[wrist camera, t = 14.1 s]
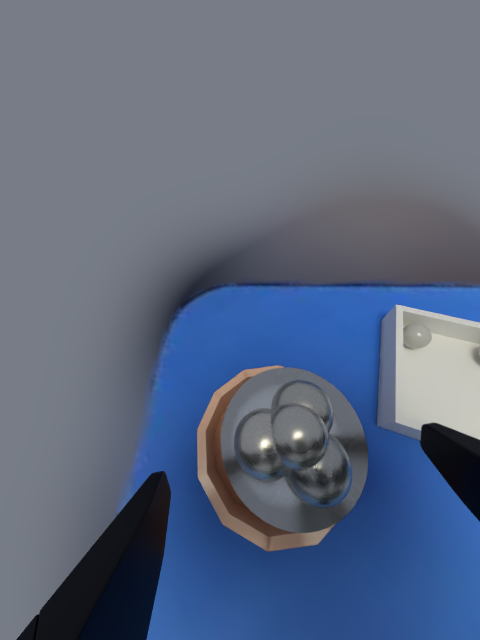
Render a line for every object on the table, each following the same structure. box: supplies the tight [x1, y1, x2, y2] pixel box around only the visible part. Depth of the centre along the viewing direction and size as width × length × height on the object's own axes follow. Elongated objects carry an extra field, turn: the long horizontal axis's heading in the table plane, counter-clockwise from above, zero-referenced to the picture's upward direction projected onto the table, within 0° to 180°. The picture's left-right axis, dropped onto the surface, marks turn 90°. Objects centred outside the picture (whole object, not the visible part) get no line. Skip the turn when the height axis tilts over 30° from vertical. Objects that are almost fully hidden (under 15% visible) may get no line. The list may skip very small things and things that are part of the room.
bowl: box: [197, 365, 335, 552], centre depth 17 cm, size 11×11×4 cm
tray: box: [377, 305, 480, 440], centre depth 19 cm, size 11×11×3 cm
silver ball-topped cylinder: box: [221, 367, 368, 533], centre depth 12 cm, size 5×5×14 cm
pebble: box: [403, 324, 432, 349], centre depth 21 cm, size 2×2×2 cm
